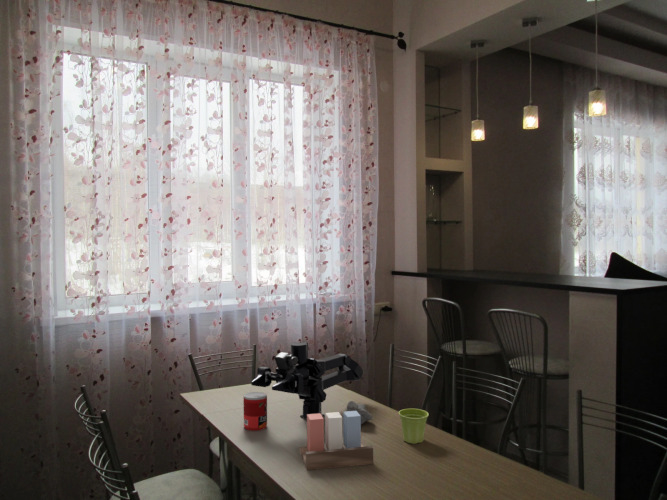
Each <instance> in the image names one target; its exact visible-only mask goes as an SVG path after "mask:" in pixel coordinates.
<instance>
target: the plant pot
mask: <svg viewBox="0 0 667 500" xmlns="http://www.w3.org/2000/svg"><path fill="white" fill-rule="evenodd" d="M398 415H399V419H400V422H401V429H402V437H403V441H405V443H408V444H413V445H414V444H418V443H419V444H421V443H423V442H424V439H425V438H424V437H425V431H426V430H425V429H426V423H427V420H428V417H429V412H428V411H426V410H423V409H420V408H404V409H401V410H399V411H398Z"/></svg>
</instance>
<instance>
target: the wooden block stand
mask: <svg viewBox="0 0 667 500" xmlns="http://www.w3.org/2000/svg"><path fill="white" fill-rule="evenodd" d="M299 454H300V457H301V460H302V462H303V465H304V467H305V469H306V471H313V470H314V471H315V470H323V469H334V468H343V467H354V466H363V465H374V447H373V446H372V445H369V446H368V445H367V446H365V445H364V444H363V443H362V441H361V447H355V448H346V447H345V446H344V444H343V442H342V449H332V450H327V448H326V446H325V443H324V450H321V451H310V452H309V451H308V449H307V446H300V447H299Z"/></svg>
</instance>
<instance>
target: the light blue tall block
mask: <svg viewBox="0 0 667 500" xmlns="http://www.w3.org/2000/svg"><path fill="white" fill-rule="evenodd" d="M342 413H343V416H342V443H343V444H344V446H345V447H346V448H355V447H361V442H362V440H361V439H362V437H361V436H362V435H361V433H362V430H361V429H362V427H361V426H362V424H361V416H360V415H359V413H358V412H357V411H342Z"/></svg>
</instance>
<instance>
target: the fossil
mask: <svg viewBox="0 0 667 500" xmlns="http://www.w3.org/2000/svg"><path fill="white" fill-rule="evenodd" d="M346 411H357V412H358V413H359V415H360V416H361V425H363V424H364V423H365V422H366V421H370V420H373V415H372V414H371V413H370V412H368V409H367V405H366V404H364V403H356V402H355V400H350V401H349V402H348V403H347V405H346ZM346 411H345V412H346Z"/></svg>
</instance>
